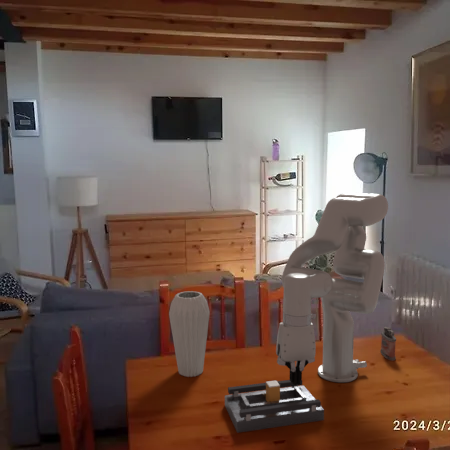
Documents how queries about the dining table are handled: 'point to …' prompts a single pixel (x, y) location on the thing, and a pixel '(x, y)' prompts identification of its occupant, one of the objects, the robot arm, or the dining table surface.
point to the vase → (189, 331)
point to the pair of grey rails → (275, 408)
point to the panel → (259, 400)
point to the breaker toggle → (272, 391)
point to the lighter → (388, 344)
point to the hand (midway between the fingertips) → (295, 383)
